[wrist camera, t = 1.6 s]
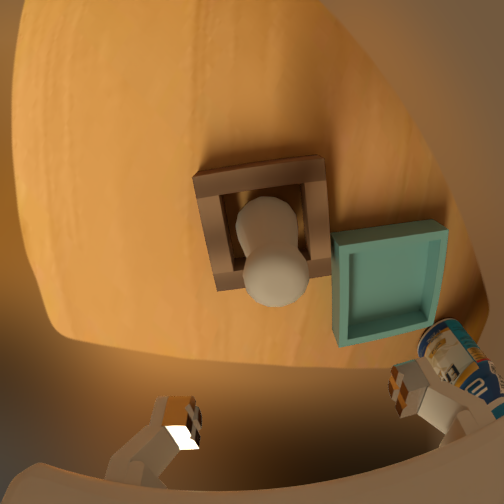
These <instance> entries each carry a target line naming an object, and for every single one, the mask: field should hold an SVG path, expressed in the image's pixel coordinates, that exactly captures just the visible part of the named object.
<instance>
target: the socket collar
mask: <svg viewBox="0 0 504 504" xmlns="http://www.w3.org/2000/svg"><path fill="white" fill-rule="evenodd" d="M192 179H193V184H194V189H195V194H196V198H197V203H198V208H199V213H200V218H201V222H202V227H203V231H204V236H205V240H206V245H207V249H208V254H209V258H210V263H211V267H212V271H213V276H214V280H215V284H216V288H217V291H225V290H233V289H240V288H246V287H245V283H244V279H243V270H244V266H245V262H246V259H247V258H246V257H239V258H234V253H233V248H232V243H231V237H230V232H229V227H228V221H227V216H226V211H225V205H224V200H223V194H229V193H235V192H242V191H248V190H255V189H262V188H269V187H276V186H284V185H291V184H299V183H300V192H301V201H302V211H303V221H304V232H305V244H306V248H301V249H298V250H299V251H300V253H301V254H302V255H303V257H304V258H305V260H306V261H307V265H308V272H309V279H310V278H316V277H323V276H329V275H332V267H331V243H330V224H329V209H328V196H327V183H326V172H325V162H324V158H322V157H320V156H318V155H309V156H299V157H291V158H283V159H275V160H267V161H260V162H253V163H247V164H240V165H234V166H228V167H222V168H216V169H210V170H205V171H199V172H197V173H196V174H195V175H194V176H193V177H192Z"/></svg>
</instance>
